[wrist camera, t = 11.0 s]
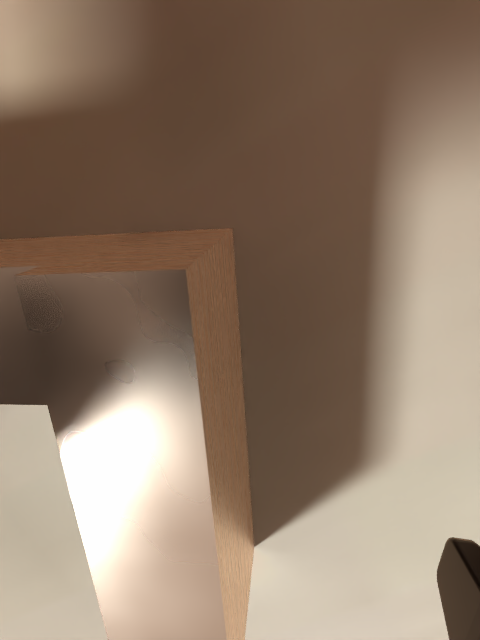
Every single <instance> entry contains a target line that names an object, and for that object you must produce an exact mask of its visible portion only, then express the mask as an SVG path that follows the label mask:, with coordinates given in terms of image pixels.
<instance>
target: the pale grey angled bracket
mask: <svg viewBox="0 0 480 640" xmlns="http://www.w3.org/2000/svg"><path fill="white" fill-rule="evenodd" d="M0 404H17V405H48V409H49V413H50V417H51V421H52V425H53V429H54V432H55V436H56V440H57V444H58V448H59V452H60V456H61V459H62V463H63V467H64V471H65V475H66V479H67V483H68V486H69V490H70V494H71V498H72V502H73V506H74V510H75V513H76V517H77V521H78V525H79V529H80V533H81V537H82V540H83V544H84V548H85V552H86V556H87V560H88V564H89V567H90V571H91V575H92V579H93V583H94V587H95V591H96V594H97V598H98V602H99V606H100V610H101V614H102V618H103V621H104V625H105V629H106V633H107V637H108V640H245V631H246V621H247V611H248V602H249V592H250V583H251V573H252V564H253V554H254V536H253V521H252V507H251V492H250V477H249V463H248V448H247V433H246V419H245V404H244V389H243V375H242V360H241V345H240V331H239V316H238V301H237V287H236V272H235V257H234V242H233V228H223V229H203V230H183V231H162V232H142V233H122V234H102V235H82V236H62V237H41V238H21V239H1V240H0Z"/></svg>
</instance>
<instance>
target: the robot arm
mask: <svg viewBox="0 0 480 640" xmlns="http://www.w3.org/2000/svg"><path fill="white" fill-rule="evenodd" d="M437 582H438V588H439V592H440V597H441V602H442V607H443V612H444V616H445V621H446V626H447V631H448V635H449V640H480V546H479V545H478V544H477V543H475V542H474V541H472V540H467V539H460V538H454V537H452V538H449V539H448V540H447V542H446V544H445V547H444V550H443V553H442V556H441V559H440V562H439V565H438V569H437Z"/></svg>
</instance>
